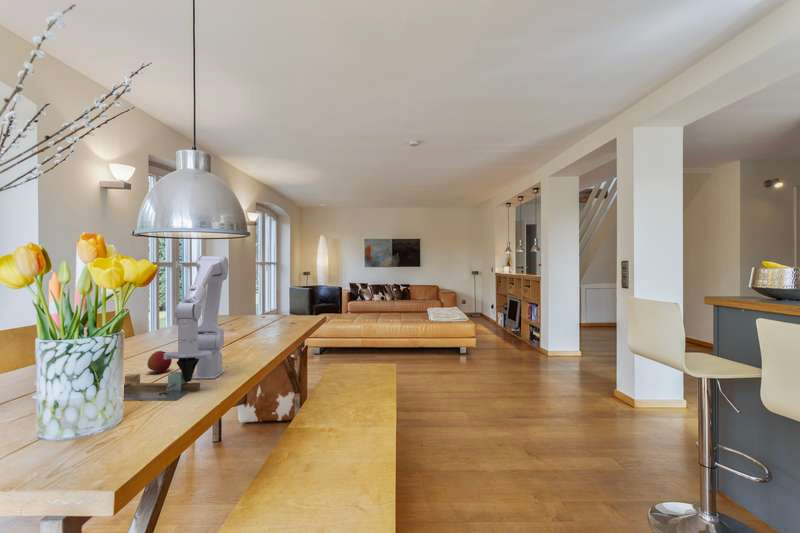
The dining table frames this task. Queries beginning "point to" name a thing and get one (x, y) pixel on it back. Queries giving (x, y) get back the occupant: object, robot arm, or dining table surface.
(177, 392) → the flange plate
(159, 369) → the apple
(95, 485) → the dining table surface
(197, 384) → the trammel rail
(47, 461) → the dining table surface
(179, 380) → the carriage
